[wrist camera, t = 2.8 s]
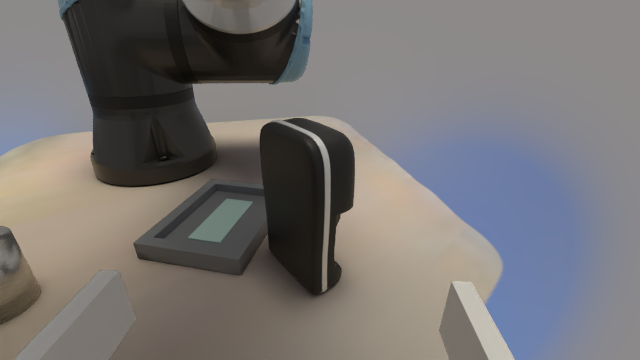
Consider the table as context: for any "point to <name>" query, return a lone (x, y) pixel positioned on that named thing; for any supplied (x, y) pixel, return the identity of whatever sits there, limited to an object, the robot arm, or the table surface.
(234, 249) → the dock
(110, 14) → the robot arm
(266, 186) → the battery charger
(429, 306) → the table surface
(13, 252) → the short grey cell
